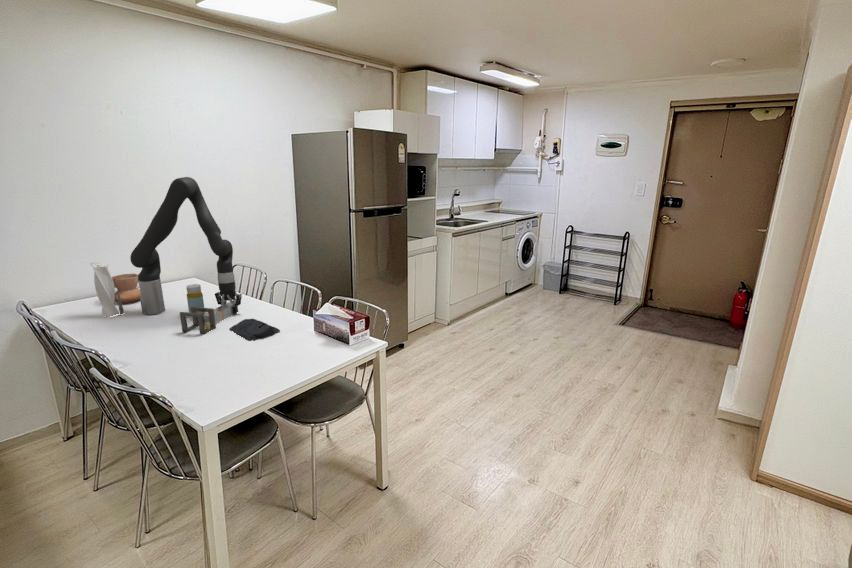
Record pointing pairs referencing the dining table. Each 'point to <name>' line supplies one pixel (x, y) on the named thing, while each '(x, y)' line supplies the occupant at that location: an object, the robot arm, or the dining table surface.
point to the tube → (220, 313)
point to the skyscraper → (106, 290)
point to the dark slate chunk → (253, 329)
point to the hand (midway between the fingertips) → (230, 312)
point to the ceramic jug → (127, 287)
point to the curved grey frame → (198, 320)
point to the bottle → (195, 297)
